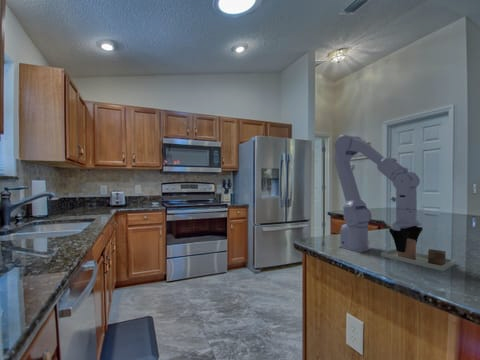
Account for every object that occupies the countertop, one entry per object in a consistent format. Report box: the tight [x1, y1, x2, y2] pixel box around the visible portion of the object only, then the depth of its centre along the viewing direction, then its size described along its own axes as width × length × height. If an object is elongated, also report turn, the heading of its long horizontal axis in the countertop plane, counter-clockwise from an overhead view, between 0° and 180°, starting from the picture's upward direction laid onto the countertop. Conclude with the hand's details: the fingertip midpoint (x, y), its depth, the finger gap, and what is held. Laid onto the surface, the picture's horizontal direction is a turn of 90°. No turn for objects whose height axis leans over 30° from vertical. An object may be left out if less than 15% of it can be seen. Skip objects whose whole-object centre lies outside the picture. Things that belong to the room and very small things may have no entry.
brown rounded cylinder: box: [398, 238, 417, 260], centre depth 85 cm, size 5×5×6 cm
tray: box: [380, 247, 456, 272], centre depth 83 cm, size 17×10×2 cm, turn 35°
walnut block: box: [427, 248, 446, 266], centre depth 79 cm, size 4×4×4 cm
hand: (406, 249), depth 86 cm, fingers open, 7 cm apart
